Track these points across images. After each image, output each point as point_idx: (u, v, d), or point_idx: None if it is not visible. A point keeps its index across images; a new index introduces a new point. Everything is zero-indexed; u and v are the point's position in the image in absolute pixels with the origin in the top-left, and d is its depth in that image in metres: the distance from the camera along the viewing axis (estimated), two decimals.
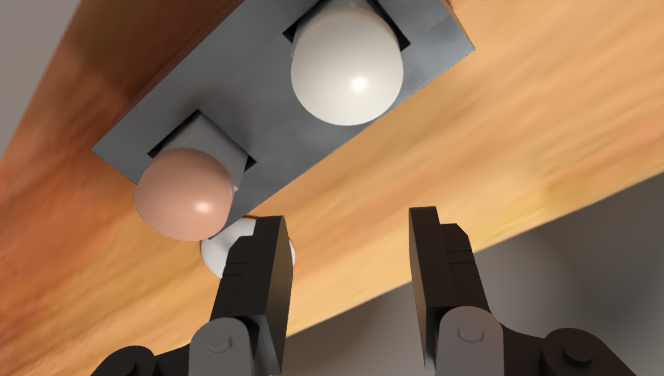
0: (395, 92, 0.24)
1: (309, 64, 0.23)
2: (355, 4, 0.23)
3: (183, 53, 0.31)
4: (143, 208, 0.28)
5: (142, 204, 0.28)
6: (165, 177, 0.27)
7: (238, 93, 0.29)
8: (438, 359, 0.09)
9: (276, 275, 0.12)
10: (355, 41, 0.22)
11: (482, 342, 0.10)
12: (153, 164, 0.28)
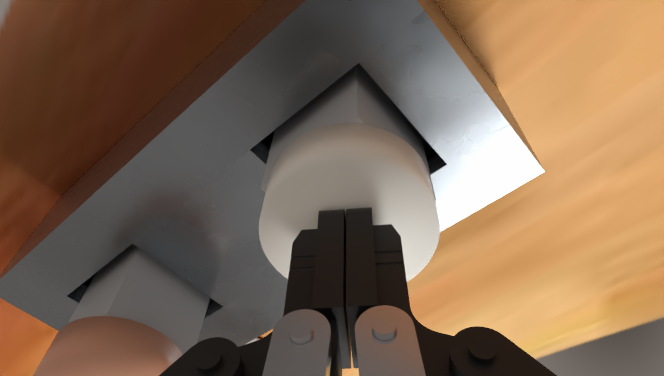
0: (426, 257, 0.15)
1: (287, 219, 0.14)
2: (362, 119, 0.15)
3: (116, 158, 0.22)
4: None
5: None
6: (71, 373, 0.18)
7: (189, 225, 0.20)
8: (360, 365, 0.09)
9: (345, 268, 0.12)
10: (362, 190, 0.14)
11: (393, 340, 0.10)
12: (56, 347, 0.18)
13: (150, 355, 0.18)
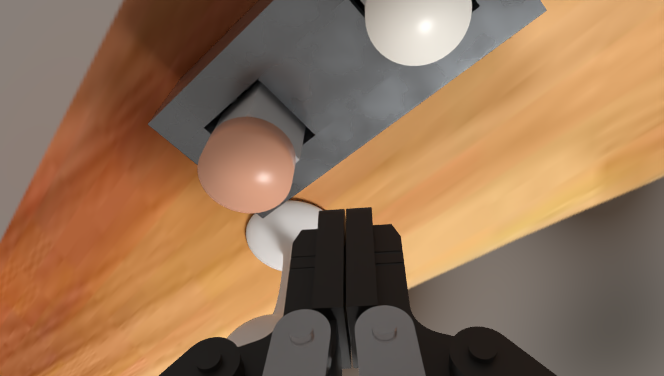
0: (463, 31, 0.25)
1: (383, 4, 0.24)
2: None
3: (241, 25, 0.31)
4: (206, 178, 0.28)
5: (205, 174, 0.28)
6: (231, 145, 0.27)
7: (299, 62, 0.29)
8: (360, 365, 0.09)
9: (345, 268, 0.12)
10: None
11: (393, 340, 0.10)
12: (217, 133, 0.27)
13: (279, 140, 0.27)
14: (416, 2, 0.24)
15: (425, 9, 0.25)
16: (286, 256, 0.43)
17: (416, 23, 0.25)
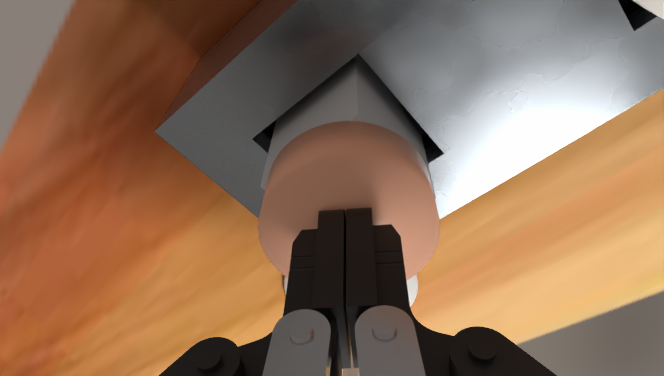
0: None
1: None
2: None
3: None
4: (273, 238, 0.15)
5: (273, 230, 0.14)
6: (330, 178, 0.13)
7: (441, 22, 0.16)
8: (360, 365, 0.09)
9: (345, 268, 0.12)
10: None
11: (393, 340, 0.10)
12: (300, 152, 0.14)
13: (417, 167, 0.14)
14: None
15: None
16: None
17: None
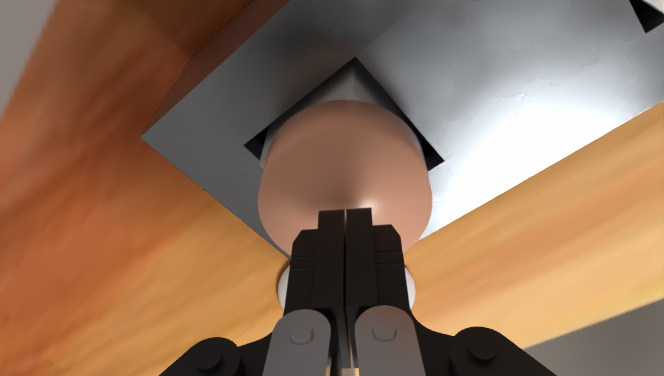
0: None
1: None
2: None
3: None
4: (272, 212, 0.15)
5: (271, 205, 0.15)
6: (328, 153, 0.14)
7: (442, 24, 0.15)
8: (360, 365, 0.09)
9: (345, 268, 0.12)
10: None
11: (392, 340, 0.10)
12: (298, 129, 0.14)
13: (411, 143, 0.15)
14: None
15: None
16: None
17: None
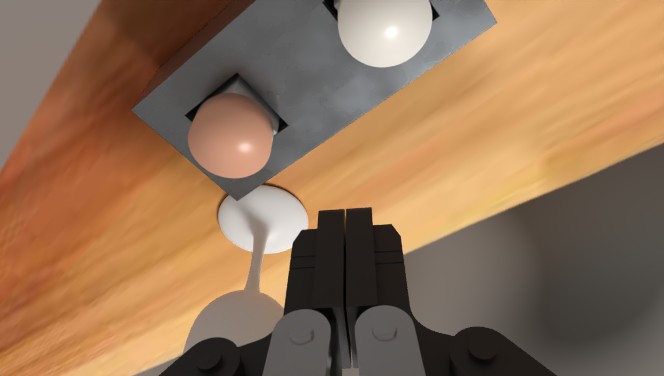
0: (424, 38, 0.28)
1: (354, 11, 0.27)
2: None
3: (222, 21, 0.33)
4: (195, 146, 0.32)
5: (194, 142, 0.32)
6: (218, 117, 0.31)
7: (276, 58, 0.32)
8: (360, 365, 0.09)
9: (345, 268, 0.12)
10: None
11: (393, 340, 0.10)
12: (206, 106, 0.31)
13: (260, 114, 0.32)
14: (383, 11, 0.27)
15: (391, 18, 0.28)
16: (257, 237, 0.46)
17: (383, 30, 0.28)
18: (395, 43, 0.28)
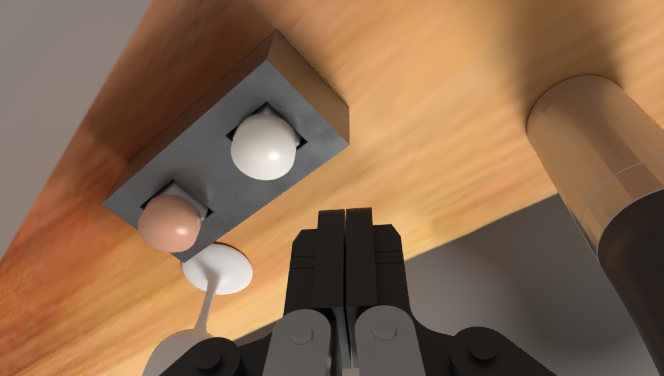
0: (291, 162, 0.41)
1: (240, 147, 0.41)
2: (268, 112, 0.41)
3: (163, 140, 0.47)
4: (143, 232, 0.45)
5: (143, 229, 0.45)
6: (157, 214, 0.44)
7: (199, 170, 0.45)
8: (360, 365, 0.09)
9: (345, 268, 0.12)
10: (265, 136, 0.40)
11: (393, 340, 0.10)
12: (150, 205, 0.44)
13: (188, 209, 0.45)
14: (260, 147, 0.40)
15: (266, 151, 0.41)
16: (209, 284, 0.59)
17: (262, 158, 0.41)
18: (272, 165, 0.41)
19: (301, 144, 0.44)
